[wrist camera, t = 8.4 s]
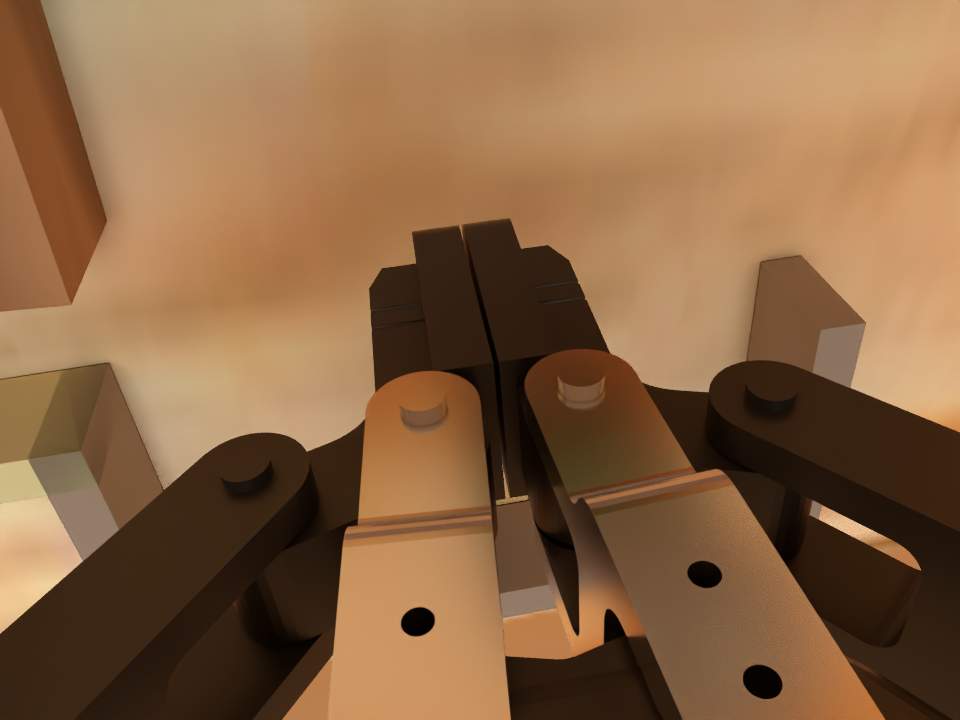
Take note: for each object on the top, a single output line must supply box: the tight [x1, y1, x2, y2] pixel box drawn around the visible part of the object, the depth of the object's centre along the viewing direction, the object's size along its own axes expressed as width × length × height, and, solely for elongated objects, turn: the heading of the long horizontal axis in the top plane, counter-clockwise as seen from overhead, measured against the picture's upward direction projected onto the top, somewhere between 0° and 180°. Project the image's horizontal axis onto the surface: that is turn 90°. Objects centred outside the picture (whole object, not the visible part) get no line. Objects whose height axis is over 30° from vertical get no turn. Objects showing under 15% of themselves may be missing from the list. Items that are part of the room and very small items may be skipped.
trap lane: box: [0, 256, 866, 618], centre depth 21 cm, size 28×21×4 cm
